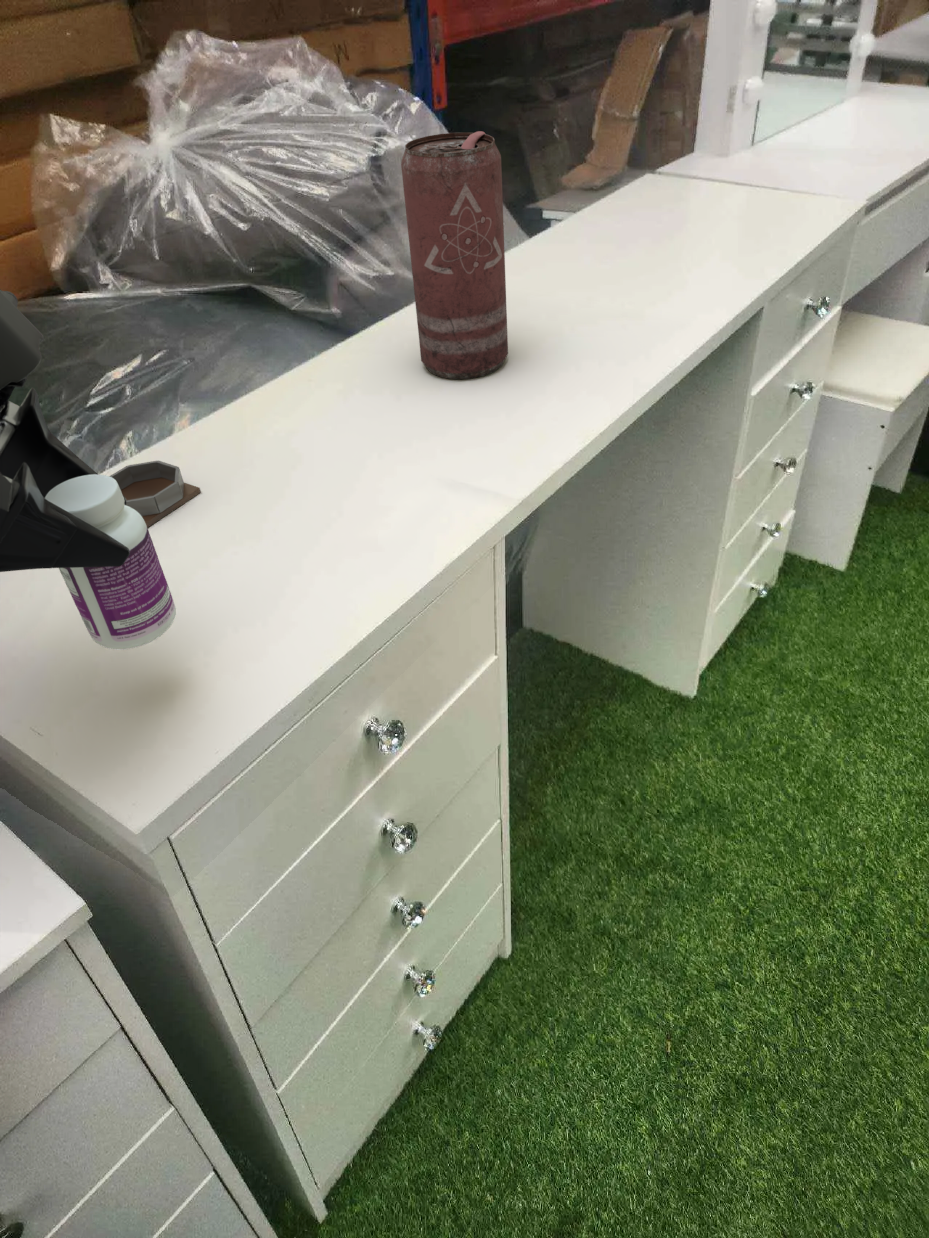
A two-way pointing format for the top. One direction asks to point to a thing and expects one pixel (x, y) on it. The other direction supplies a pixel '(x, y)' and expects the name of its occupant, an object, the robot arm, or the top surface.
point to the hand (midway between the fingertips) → (124, 531)
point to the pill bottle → (116, 568)
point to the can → (457, 252)
